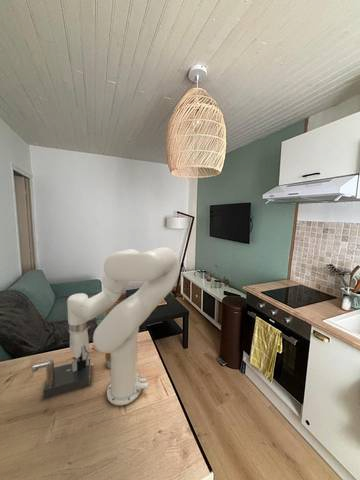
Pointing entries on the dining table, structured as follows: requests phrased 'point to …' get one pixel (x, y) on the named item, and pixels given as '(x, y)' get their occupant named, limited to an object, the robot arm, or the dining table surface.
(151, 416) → the dining table surface
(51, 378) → the spout
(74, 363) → the tap handle
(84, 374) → the base
